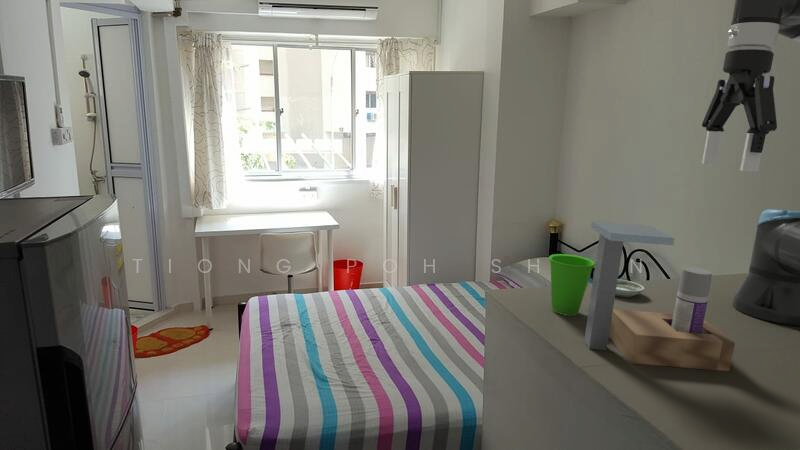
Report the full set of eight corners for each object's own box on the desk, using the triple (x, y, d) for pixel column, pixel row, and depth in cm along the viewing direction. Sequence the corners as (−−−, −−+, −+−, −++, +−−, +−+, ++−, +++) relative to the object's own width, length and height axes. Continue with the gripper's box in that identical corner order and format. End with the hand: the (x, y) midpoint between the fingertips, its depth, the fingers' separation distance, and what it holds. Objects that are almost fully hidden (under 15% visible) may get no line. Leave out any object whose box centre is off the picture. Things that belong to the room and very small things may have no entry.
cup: (533, 308, 114) (539, 257, 111) (558, 301, 120) (564, 252, 117) (572, 322, 107) (580, 268, 105) (596, 314, 113) (604, 262, 111)
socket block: (694, 341, 102) (698, 316, 101) (729, 371, 90) (735, 342, 89) (606, 334, 102) (610, 308, 101) (630, 363, 91) (635, 334, 90)
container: (692, 349, 98) (707, 268, 95) (700, 360, 94) (717, 276, 91) (664, 345, 99) (678, 265, 96) (671, 356, 94) (686, 272, 91)
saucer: (630, 288, 134) (632, 278, 133) (651, 302, 124) (652, 291, 124) (592, 286, 133) (593, 277, 132) (609, 300, 124) (611, 289, 123)
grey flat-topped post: (630, 338, 101) (649, 225, 97) (652, 362, 92) (674, 238, 87) (575, 333, 102) (592, 221, 97) (592, 357, 92) (610, 233, 88)
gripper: (695, 56, 112) (677, 160, 117) (771, 40, 88) (745, 173, 92) (732, 58, 112) (713, 163, 116) (819, 43, 88) (791, 176, 92)
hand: (727, 167), depth 104 cm, fingers open, 13 cm apart
